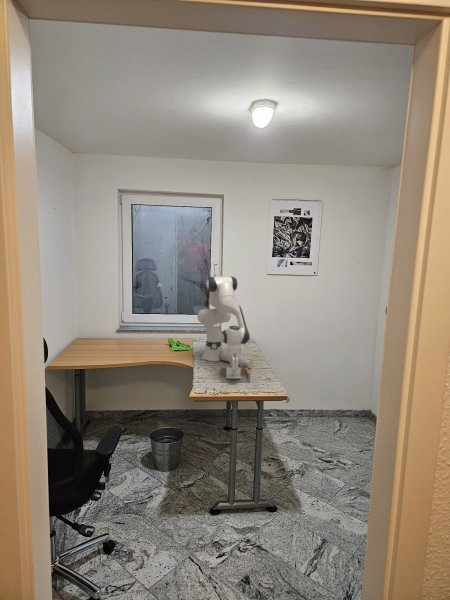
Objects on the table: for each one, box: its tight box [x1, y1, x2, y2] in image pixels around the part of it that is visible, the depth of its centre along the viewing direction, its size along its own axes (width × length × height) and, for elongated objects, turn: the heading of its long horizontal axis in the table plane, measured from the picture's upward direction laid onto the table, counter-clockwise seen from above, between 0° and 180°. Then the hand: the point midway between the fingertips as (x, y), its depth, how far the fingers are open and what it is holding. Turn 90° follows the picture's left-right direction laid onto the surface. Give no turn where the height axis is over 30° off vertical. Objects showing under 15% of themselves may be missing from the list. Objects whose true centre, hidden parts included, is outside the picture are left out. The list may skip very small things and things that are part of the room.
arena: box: [219, 367, 251, 384], centre depth 231 cm, size 13×18×6 cm
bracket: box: [225, 366, 242, 378], centre depth 228 cm, size 9×4×6 cm, turn 95°
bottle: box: [220, 348, 253, 369], centre depth 264 cm, size 9×9×30 cm
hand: (233, 373), depth 229 cm, fingers closed on bracket, 2 cm apart
